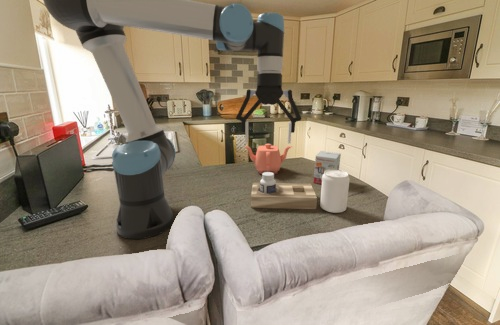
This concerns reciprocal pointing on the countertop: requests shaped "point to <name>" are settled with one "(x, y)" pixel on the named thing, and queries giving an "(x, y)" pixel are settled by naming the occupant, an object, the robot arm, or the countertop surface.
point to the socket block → (285, 197)
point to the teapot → (268, 158)
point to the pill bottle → (268, 183)
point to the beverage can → (334, 191)
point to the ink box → (325, 164)
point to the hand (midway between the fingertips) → (267, 142)
